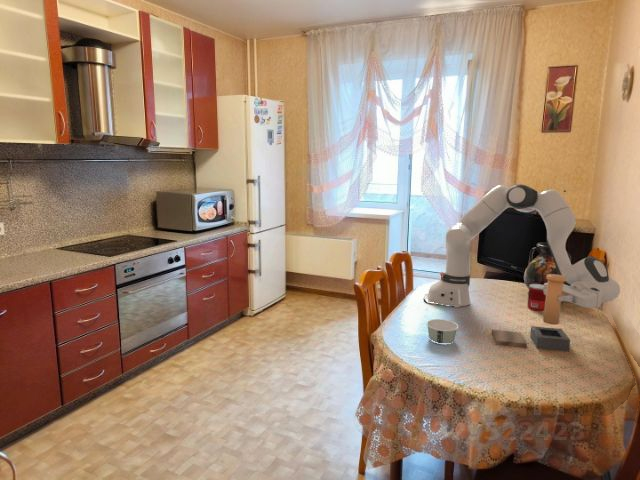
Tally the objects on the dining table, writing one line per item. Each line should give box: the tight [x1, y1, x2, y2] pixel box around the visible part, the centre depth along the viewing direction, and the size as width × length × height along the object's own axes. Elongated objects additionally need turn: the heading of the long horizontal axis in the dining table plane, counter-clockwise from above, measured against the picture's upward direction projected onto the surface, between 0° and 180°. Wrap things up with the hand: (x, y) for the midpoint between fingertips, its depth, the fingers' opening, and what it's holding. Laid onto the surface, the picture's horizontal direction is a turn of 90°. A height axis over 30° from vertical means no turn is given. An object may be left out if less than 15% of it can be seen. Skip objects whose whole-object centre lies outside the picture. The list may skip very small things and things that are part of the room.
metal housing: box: [529, 326, 571, 352], centre depth 166 cm, size 11×11×4 cm
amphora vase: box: [523, 241, 572, 295], centre depth 219 cm, size 22×22×28 cm
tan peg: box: [542, 274, 566, 326], centre depth 164 cm, size 6×6×18 cm
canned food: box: [527, 284, 546, 312], centre depth 206 cm, size 8×8×11 cm
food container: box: [426, 318, 459, 343], centre depth 169 cm, size 12×12×6 cm
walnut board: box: [491, 329, 528, 348], centre depth 170 cm, size 11×11×2 cm
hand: (551, 295), depth 163 cm, fingers closed on tan peg, 5 cm apart
